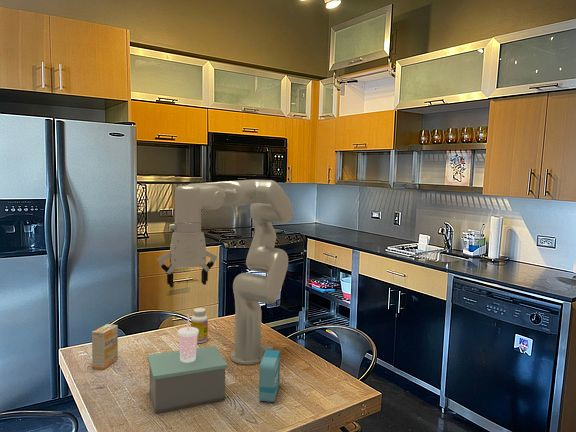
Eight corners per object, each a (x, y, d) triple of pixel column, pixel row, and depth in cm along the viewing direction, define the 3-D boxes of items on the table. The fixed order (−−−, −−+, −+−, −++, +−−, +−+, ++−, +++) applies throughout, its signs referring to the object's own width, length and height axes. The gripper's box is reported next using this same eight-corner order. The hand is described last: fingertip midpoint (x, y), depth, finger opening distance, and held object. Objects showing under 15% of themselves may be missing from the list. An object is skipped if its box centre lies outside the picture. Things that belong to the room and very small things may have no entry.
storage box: (213, 379, 142) (213, 350, 141) (224, 400, 129) (225, 368, 128) (149, 390, 133) (149, 359, 132) (155, 413, 121) (155, 379, 120)
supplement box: (104, 370, 146) (104, 332, 145) (91, 368, 147) (91, 331, 145) (118, 360, 154) (118, 324, 153) (106, 358, 155) (106, 323, 154)
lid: (215, 348, 141) (215, 345, 141) (227, 367, 128) (227, 364, 128) (147, 357, 132) (147, 354, 132) (153, 379, 119) (153, 376, 119)
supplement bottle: (205, 344, 170) (206, 312, 169) (188, 343, 170) (189, 312, 169) (209, 337, 177) (209, 307, 176) (192, 337, 177) (193, 306, 176)
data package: (273, 404, 128) (274, 365, 126) (258, 402, 128) (259, 364, 127) (279, 384, 139) (280, 349, 138) (265, 383, 140) (266, 348, 139)
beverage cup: (188, 353, 135) (189, 309, 133) (202, 358, 131) (203, 314, 130) (173, 359, 130) (173, 314, 128) (187, 365, 126) (187, 319, 125)
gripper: (159, 230, 119) (159, 290, 121) (220, 228, 127) (219, 285, 128) (155, 227, 126) (155, 284, 128) (213, 225, 133) (213, 279, 135)
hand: (187, 284), depth 128 cm, fingers open, 9 cm apart
